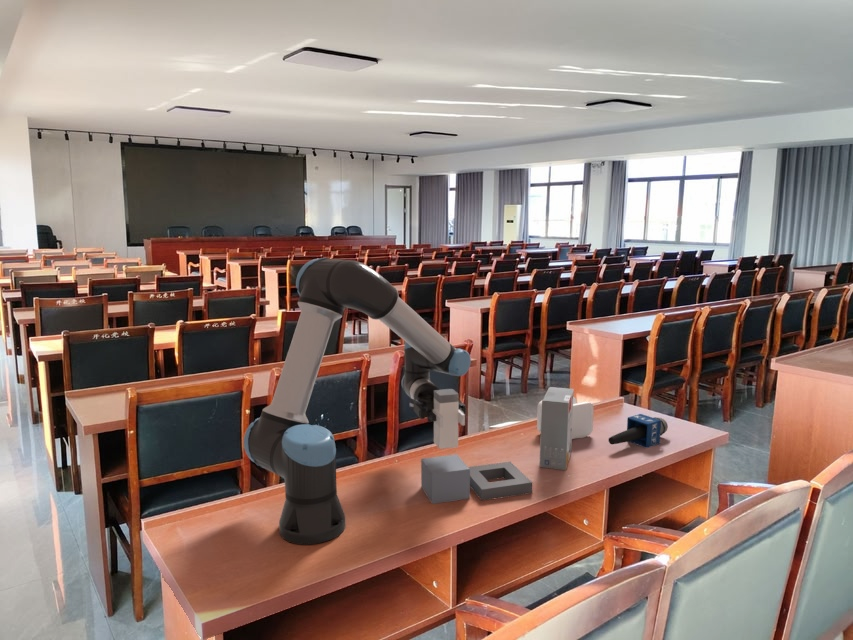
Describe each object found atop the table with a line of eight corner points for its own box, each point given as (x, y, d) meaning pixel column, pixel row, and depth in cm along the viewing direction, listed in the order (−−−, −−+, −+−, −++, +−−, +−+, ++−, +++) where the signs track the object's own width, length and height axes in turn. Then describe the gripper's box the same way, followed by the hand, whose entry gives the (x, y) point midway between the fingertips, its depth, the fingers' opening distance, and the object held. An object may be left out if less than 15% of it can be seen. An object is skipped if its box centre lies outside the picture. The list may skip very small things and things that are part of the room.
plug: (439, 449, 154) (439, 395, 152) (433, 442, 159) (433, 390, 157) (458, 447, 156) (458, 394, 153) (451, 440, 161) (452, 388, 158)
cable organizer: (555, 444, 192) (556, 409, 190) (535, 433, 201) (536, 399, 199) (593, 436, 198) (594, 402, 196) (572, 426, 208) (573, 393, 206)
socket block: (481, 500, 155) (481, 489, 154) (463, 477, 168) (463, 467, 168) (532, 493, 159) (532, 482, 158) (510, 471, 172) (510, 461, 172)
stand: (432, 504, 153) (432, 474, 152) (421, 487, 163) (421, 458, 161) (469, 498, 156) (469, 468, 155) (456, 482, 166) (456, 454, 164)
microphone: (601, 424, 187) (653, 409, 200) (600, 448, 188) (652, 432, 202) (622, 432, 180) (674, 416, 194) (621, 457, 182) (672, 439, 195)
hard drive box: (566, 471, 172) (568, 403, 168) (539, 468, 174) (540, 400, 171) (571, 451, 186) (574, 388, 183) (546, 448, 189) (548, 385, 185)
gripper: (456, 405, 176) (486, 432, 154) (395, 410, 171) (417, 439, 149) (456, 380, 175) (486, 403, 153) (395, 384, 170) (417, 409, 148)
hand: (452, 421), depth 151 cm, fingers closed on plug, 5 cm apart
